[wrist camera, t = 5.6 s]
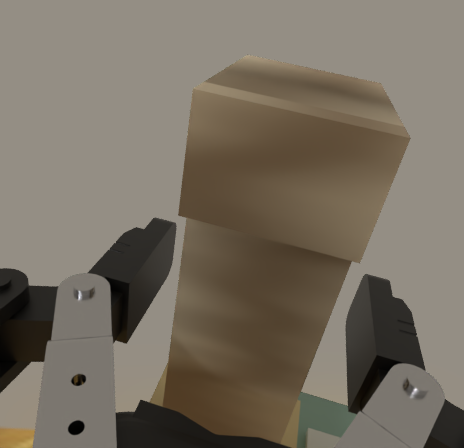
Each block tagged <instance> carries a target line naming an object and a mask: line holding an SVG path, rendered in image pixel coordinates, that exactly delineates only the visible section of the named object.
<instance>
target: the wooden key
mask: <svg viewBox="0 0 464 448" xmlns="http://www.w3.org/2000/svg"><path fill="white" fill-rule="evenodd" d="M409 141H410V136H409V134H408V133H407V131H406V129H405V127H404V125H403V123H402V121H401V120H400V118H399V116H398V114H397V112H396V110H395V109H394V107H393V105H392V103H391V101H390V99H389V97H388V96H387V94H386V92H385V90H384V88H383V86H382V84H381V83H377V82H372V81H367V80H363V79H358V78H353V77H349V76H344V75H339V74H335V73H330V72H325V71H321V70H316V69H311V68H307V67H302V66H297V65H293V64H288V63H284V62H279V61H274V60H270V59H265V58H260V57H256V56H251V55H247V56H245V57H244V58H242V59H240V60H238V61H237V62H235V63H234V64H232V65H230V66H229V67H227V68H225V69H224V70H222V71H221V72H219V73H217V74H216V75H214V76H213V77H211V78H209V79H208V80H206V81H205V82H203V83H201V84H200V85H198V86H196V87H195V88H193V93H192V102H191V110H190V119H189V127H188V136H187V145H186V154H185V162H184V171H183V179H182V188H181V197H180V205H179V214H178V215H179V216H182V217H186V218H187V219H186V227H185V235H184V243H183V251H182V258H181V266H180V274H179V282H178V290H177V297H176V305H175V313H174V321H173V328H172V336H171V344H170V352H169V361H168V368H167V375H166V383H165V391H164V399H163V407H165V408H168V409H171V410H175V411H178V412H180V413H181V414H183V415H185V416H186V417H188V418H189V419H191V420H193V421H194V422H196V423H197V424H199V425H201V426H202V427H204V428H206V429H207V430H209V431H210V432H212V433H214V434H217V435H230V436H246V437H260V438H263V439H266V440H269V441H272V442H275V443H279V444H280V443H281V441H282V438H283V435H284V433H285V430H286V428H287V425H288V423H289V420H290V418H291V415H292V412H293V410H294V407H295V405H296V402H297V400H298V397H299V395H300V392H301V389H302V387H303V384H304V382H305V379H306V377H307V374H308V372H309V369H310V367H311V364H312V361H313V359H314V356H315V354H316V351H317V349H318V346H319V344H320V341H321V338H322V336H323V333H324V331H325V328H326V325H327V323H328V321H329V318H330V315H331V313H332V310H333V308H334V305H335V303H336V300H337V297H338V295H339V292H340V290H341V287H342V285H343V282H344V280H345V277H346V275H347V272H348V270H349V267H350V264H351V262H352V261H354V262H357V263H360V261H361V259H362V257H363V254H364V252H365V249H366V247H367V244H368V241H369V239H370V237H371V234H372V232H373V229H374V227H375V224H376V222H377V220H378V217H379V214H380V212H381V210H382V207H383V205H384V202H385V200H386V197H387V195H388V192H389V190H390V187H391V184H392V183H393V180H394V178H395V175H396V173H397V170H398V168H399V165H400V163H401V160H402V158H403V155H404V153H405V150H406V148H407V146H408V143H409Z"/></svg>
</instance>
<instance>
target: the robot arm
mask: <svg viewBox="0 0 464 448" xmlns="http://www.w3.org/2000/svg"><path fill="white" fill-rule="evenodd" d="M175 235H176V223H174V222H170V221H167V220H163V219H159V218H153V219H152V221H151V222H150V223H149V224H148V225H147V227H146V228H145V229H141V228H137V227H136V228H134V229H132V230H129V231H127V232H125V233H124V234H123V235H122V236H121V237H120V238H119V239H118V240H117V241H116V243H114V244H113V246H112V247H111V248H110V250H108V251H107V252H106V253H105V254H104V256H103V257H102V258H101V259H100V260H99V261H98V262H97V263H96V264H95V265H94V266H93V268H92V269H91V270H90V271H89V272H88V273H83V274H77V275H73V276H70V277H68V278H67V279H65V280H64V281H62V283H61V284H60V285H59V286H57V287H49V286H29V284H28V278H27V276H26V275H25V274H24V273H23V272H21V271H19V270H15V269H7V268H6V269H5V268H4V269H0V393H1V392H2V391H3V390H4V389H5V388H6V387H7V386H8V385H9V384H10V383H11V381H13V380H14V379H15V378H16V377H17V376H18V375H19V374H20V373H21V372H22V371H23V370H24V368H26V366H27V365H29V364H30V363H31V362H44V368H43V376H42V383H41V391H40V398H39V406H38V413H37V420H36V427H35V435H34V442H33V448H291V447H288V446H285V445H282V444H279V443H275V442H272V441H269V440H266V439H263V438H260V437H246V436H230V435H217V434H214V433H212V432H210V431H209V430H207V429H206V428H204V427H202V426H201V425H199V424H197V423H196V422H194V421H193V420H191V419H189V418H188V417H186V416H185V415H183V414H181V413H180V412H178V411H175V410H171V409H168V408H165V407H162V406H159V405H156V404H153V403H149V402H146V401H143V400H140V402H139V405H138V407H137V408H136V411H135V412H118V413H116V412H115V386H114V357H113V343H114V342H115V340H117V341H120V342H123V343H127V342H128V340H129V339H130V337H131V335H132V333H133V332H134V330H135V329H136V327H137V326H138V324H139V322H140V321H141V319H142V317H143V316H144V314H145V313H146V311H147V309H148V308H149V306H150V304H151V303H152V301H153V299H154V298H155V296H156V294H157V293H158V291H159V290H160V288H161V286H162V285H163V283H164V281H165V280H166V278H167V276H168V274H169V271H170V268H171V265H172V261H173V253H174V244H175ZM416 335H417V333H416V329H415V327H414V321H413V317H412V312H411V311H410V309H409V308H408V307H407V305H406V304H405V303H404V301H403V300H402V299H399V298H395V297H393V296H392V290H391V285H390V281H389V280H387V279H383V278H379V277H376V276H371V275H368V274H365V275H364V276H363V278H362V280H361V283H360V285H359V288H358V290H357V292H356V295H355V297H354V299H353V302H352V304H351V307H350V309H349V312H348V316H347V320H346V353H347V354H346V355H347V386H348V387H347V389H348V412H351V413H354V414H357V415H356V417H355V418H354V420H353V421H352V423H351V424H350V425H349V427H348V428H347V430H346V431H345V433H344V434H343V436H342V437H341V439H340V440H339V441H338V443H337V444H336V446H335V447H334V448H464V410H462V409H460V408H458V407H456V406H454V405H453V404H451V403H450V402H448V401H447V400H446V399H445V396H444V392H443V390H442V388H441V386H440V384H439V383H438V382H437V381H436V380H435V379H434V377H432V376H431V375H430V374H429V373H427V372H426V371H425V366H424V362H423V358H422V354H421V350H420V346H419V342H418V337H416Z"/></svg>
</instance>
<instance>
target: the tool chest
mask: <svg viewBox="0 0 464 448" xmlns="http://www.w3.org/2000/svg"><path fill="white" fill-rule="evenodd" d="M167 368H168V364H167V366H166V368H165V370H164V372H163V374H162V377H161V379H160V381H159V383H158V385H157V387H156V389H155V392H154V394H153V396H152V398H151V401H150V402H149V403H153V404H156V405H159V406H162V407H163V399H164V391H165V383H166V375H167ZM356 415H357V414H354V413H351V412H348V406H346V405H343V404H339V403H336V402H333V401H329V400H326V399H322V398H319V397H316V396H313V395H309V394H306V393H303V392H300V395H299V397H298V400H297V402H296V405H295V407H294V410H293V412H292V415H291V418H290V420H289V423H288V425H287V428H286V430H285V433H284V435H283V438H282V441H281V443H280V444H282V445H285V446H288V447H291V448H334V447H335V446H336V444H337V443H338V441H339V440H340V439H341V437H342V436H343V434H344V433H345V431H346V430H347V428H348V427H349V425H350V424H351V423H352V421H353V420H354V418H355V417H356Z"/></svg>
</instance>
